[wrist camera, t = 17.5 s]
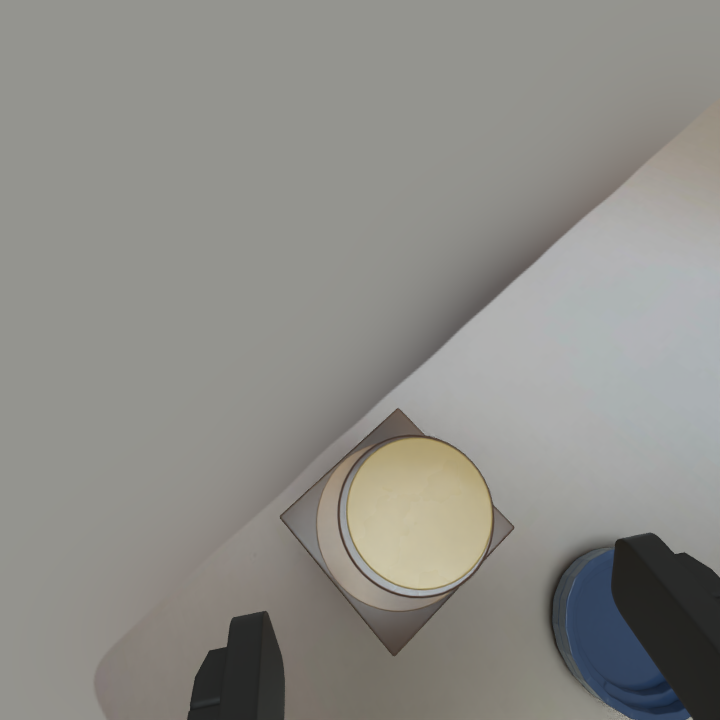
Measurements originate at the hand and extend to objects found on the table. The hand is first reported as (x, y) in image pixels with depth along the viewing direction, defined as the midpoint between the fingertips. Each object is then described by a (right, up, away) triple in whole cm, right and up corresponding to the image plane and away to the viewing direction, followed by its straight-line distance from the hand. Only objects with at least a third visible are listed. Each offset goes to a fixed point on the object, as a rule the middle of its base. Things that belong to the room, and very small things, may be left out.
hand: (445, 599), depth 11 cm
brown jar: (0, -2, +12) cm, 12 cm away
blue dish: (+19, -15, +27) cm, 37 cm away
